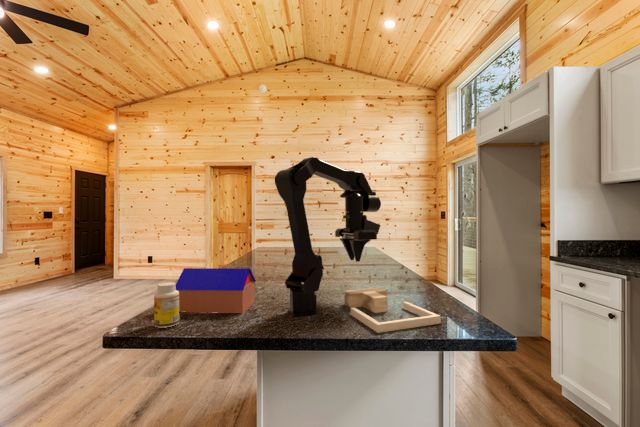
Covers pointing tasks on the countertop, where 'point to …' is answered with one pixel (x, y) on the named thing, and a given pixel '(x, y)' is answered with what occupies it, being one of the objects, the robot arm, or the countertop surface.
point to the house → (216, 290)
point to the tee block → (367, 299)
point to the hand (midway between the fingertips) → (354, 260)
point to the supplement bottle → (166, 305)
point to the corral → (424, 320)
